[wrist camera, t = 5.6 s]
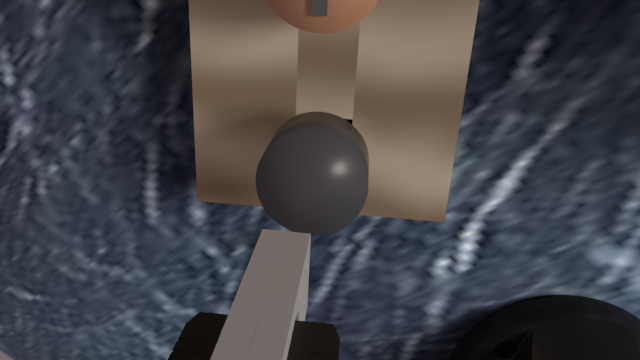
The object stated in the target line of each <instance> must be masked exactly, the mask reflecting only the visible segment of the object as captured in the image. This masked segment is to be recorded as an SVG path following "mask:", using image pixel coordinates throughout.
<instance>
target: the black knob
mask: <svg viewBox="0 0 640 360" xmlns="http://www.w3.org/2000/svg"><path fill="white" fill-rule="evenodd" d="M368 179H369V154H368V149H367V146H366V143H365V141H364V139H363V137H362V136H361V134H360V133H359V132H358V130H357V129H356V128H355V127H354V126H353V125H352V124H351V123H349V122H348V121H347V120H345V119H343V118H341V117H339V116H337V115H334V114H331V113H327V112H306V113H302V114H299V115H297V116H294V117H292V118H291V119H289V120H287V121H286V122H285V123H284V124H282V125H281V126H280V127H279V129H278V130H277V131H276V133H275V134H274V136H273V138H272V139H271V141H270V143H269V145H268V147H267V148H266V150H265V152H264V154H263V156H262V157H261V159H260V161H259V164H258V167H257V171H256V180H255V181H256V190H257V194H258V197H259V200H260V202H261V204H262V206H263V207H264V209H265V210H266V212H267V213H268V214H269V215H270V216H271V217H272V218H273V219H274V220H275V221H276V222H277V223H279V224H280V225H282V226H283V227H285V228H287V229H289V230H292V231H294V232H299V233H310V234H311V235H323V234H328V233H332V232H335V231H337V230H339V229H341V228H343V227H345V226H346V225H348V224H349V223H350V222H352V221H353V220H354V219H355V218H356V217H357V216H358V214H359V213H360V211H361V210H362V208H363V206H364V204H365V201H366V198H367V194H368Z"/></svg>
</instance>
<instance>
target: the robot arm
mask: <svg viewBox="0 0 640 360" xmlns="http://www.w3.org/2000/svg"><path fill="white" fill-rule="evenodd" d="M310 240H311V234H310V233H299V232H288V231H277V230H266V229H263V230H262V232H261V235H260V237H259V240H258V242H257V244H256V247H255V249H254V252H253V254H252V257H251V259H250V262H249V264H248V267H247V269H246V272H245V274H244V277H243V279H242V282H241V284H240V287H239V289H238V292H237V294H236V297H235V299H234V302H233V304H232V307H231V309H230V312H229V314H228V315H224V314H214V313H204V312H199V313H198V314H197V315H196V316H195V317H193V318H192V319H191V320H190V321H189V322H187V323H186V325H185V327H184V329H183V331H182V333H181V335H180V337H179V340H178V341H177V342H176V344H175V346H174V348H173V352H172V353H171V354H170V356H169V358H168V360H338V355H339V343H340V338H339V335H338V333H337V331H336V329H335V327H334V325H333V324H326V323H316V322H306V321H305V316H306V310H307V301H308V280H309V260H310ZM450 360H640V320H639V319H638V318H637V317H635V316H634V315H632V314H631V313H629V312H627V311H625V310H624V309H622V308H620V307H617V306H615V305H612V304H609V303H606V302H603V301H600V300H596V299H591V298H585V297H575V296H552V297H543V298H537V299H532V300H528V301H524V302H521V303H517V304H514V305H512V306H509V307H507V308H504V309H502V310H500V311H498V312H496V313H494V314H492V315H491V316H489V317H487V318H486V319H484V320H483V321H481V322H480V323H479V324H477V325H476V326H475V327H474V328H473V329H471V330H470V331H469V332H468V333H467V334H466V335H465V336H464V338H463V339H462V340H461V341H460V343H459V344H458V345H457V347H456V348H455V350H454V352H453V353H452V355H451V357H450Z"/></svg>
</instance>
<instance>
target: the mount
mask: <svg viewBox="0 0 640 360" xmlns="http://www.w3.org/2000/svg"><path fill="white" fill-rule="evenodd" d="M479 1H480V0H379V1H378V2H377V4H376V5H375V7H374V8H373V9H372V11H371V12H370V13H369V14H368V15H367V16H366V17H365V18H364V19H362V20H361V21H360V22H358V23H357V24H355V25H353V26H352V27H350V28H347V29H345V30H343V31H339V32H335V33H328V34H317V33H310V32H306V31H303V30H300V29H298V28H295V27H294V26H292V25H290V24H288V23H287V22H286V21H284V20H283V19H282V18H281V17H280V16H279V15H278V14H277V13H276V12H275V11H274V10H273V9H272V8H271V6H270V5H269V3H268V2H267V0H189V22H190V45H191V68H192V91H193V114H194V137H195V160H196V183H197V201H206V202H217V203H229V204H240V205H252V206H262V204H261V202H260V200H259V197H258V194H257V190H256V181H255V180H256V171H257V167H258V164H259V161H260V159H261V157H262V156H263V154H264V152H265V150H266V148H267V147H268V145H269V143H270V141H271V139H272V138H273V136H274V134H275V133H276V131H277V130H278V129H279V127H280V126H281V125H282V124H284V123H285V122H286V121H287V120H289V119H291V118H292V117H294V116H297V115H299V114H302V113H306V112H327V113H331V114H334V115H337V116H339V117H341V118H343V119H353V122H352V125H353V126H354V127H355V128H356V129H357V130H358V132H359V133H360V134H361V136H362V137H363V139H364V141H365V143H366V146H367V149H368V154H369V179H368V194H367V198H366V201H365V204H364V206H363V208H362V210H361V211H360V213H359V214H358V215H366V216H378V217H389V218H401V219H412V220H424V221H435V222H444V221H445V215H446V209H447V202H448V196H449V190H450V184H451V177H452V171H453V165H454V158H455V152H456V146H457V139H458V133H459V127H460V120H461V114H462V108H463V101H464V95H465V89H466V83H467V76H468V70H469V64H470V57H471V51H472V45H473V38H474V32H475V26H476V19H477V13H478V7H479Z"/></svg>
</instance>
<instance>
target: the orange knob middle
mask: <svg viewBox="0 0 640 360" xmlns="http://www.w3.org/2000/svg"><path fill="white" fill-rule="evenodd" d="M378 1H379V0H267V2H268V3H269V5H270V6H271V8H272V9H273V10H274V11H275V12H276V13H277V14H278V15H279V16H280V17H281V18H282V19H283V20H284V21H286V22H287V23H288V24H290V25H292V26H294V27H295V28H298V29H300V30H303V31H306V32H310V33H317V34H328V33H335V32H339V31H343V30H345V29H347V28H350V27H352V26H353V25H355V24H357V23H358V22H360V21H361V20H362V19H364V18H365V17H366V16H367V15H368V14H369V13H370V12H371V11H372V9H373V8H374V7H375V5H376V4H377V2H378Z"/></svg>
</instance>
